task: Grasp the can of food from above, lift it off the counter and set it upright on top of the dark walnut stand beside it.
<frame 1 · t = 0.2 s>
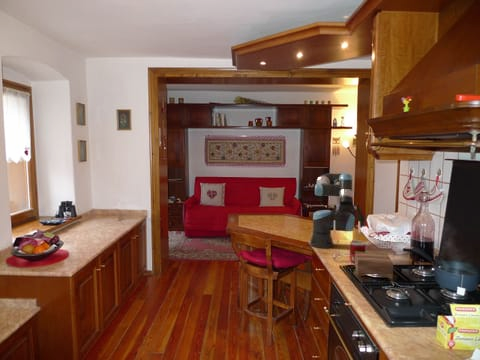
hand: (346, 232, 181), 16 cm above the countertop, tool tilted 30°, fingers open, 13 cm apart
walnut stand: (372, 272, 164), on the countertop
canned food: (357, 262, 180), on the countertop
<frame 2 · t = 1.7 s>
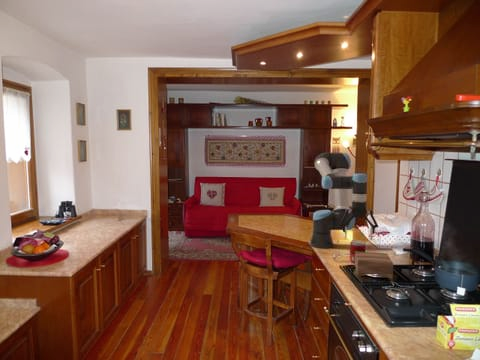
hand: (358, 238, 178), 13 cm above the countertop, tool pointing down, fingers open, 13 cm apart
nothing on the countertop moved.
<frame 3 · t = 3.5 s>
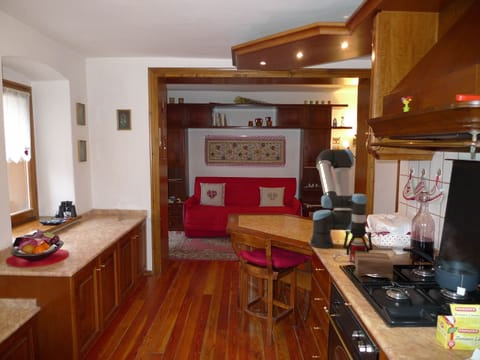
hand: (357, 261, 180), 0 cm above the countertop, tool pointing down, fingers closed on canned food, 8 cm apart
canned food: (357, 262, 180), on the countertop, touching gripper
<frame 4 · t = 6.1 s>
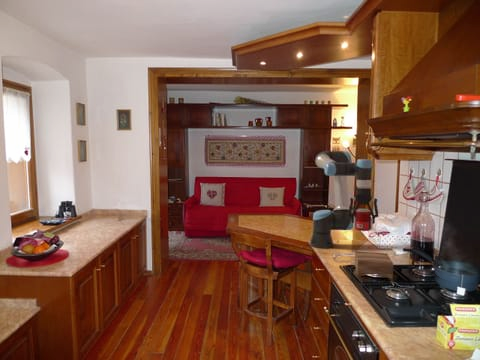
hand: (362, 229, 173), 20 cm above the countertop, tool pointing down, fingers closed on canned food, 8 cm apart
canned food: (362, 230, 173), point 19 cm above the countertop, touching gripper
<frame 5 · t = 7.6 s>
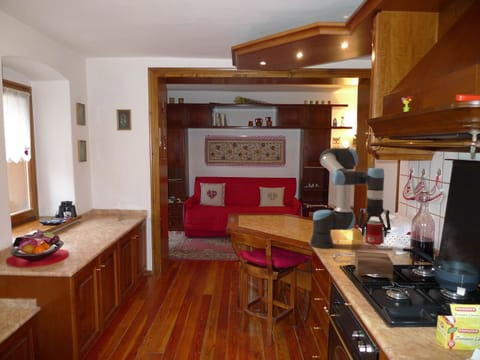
hand: (373, 242, 163), 16 cm above the countertop, tool pointing down, fingers closed on canned food, 8 cm apart
canned food: (373, 243, 163), point 15 cm above the countertop, touching gripper
when the fingers open (10 cm above the countertop, at t = 9.0 s): canned food drops 1 cm, resting on walnut stand.
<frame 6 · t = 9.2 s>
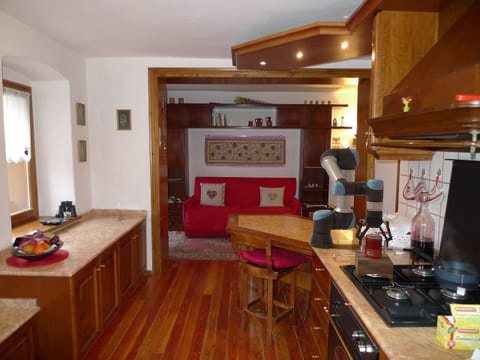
hand: (373, 252, 163), 10 cm above the countertop, tool pointing down, fingers open, 10 cm apart
canned food: (373, 257, 163), point 8 cm above the countertop, touching walnut stand
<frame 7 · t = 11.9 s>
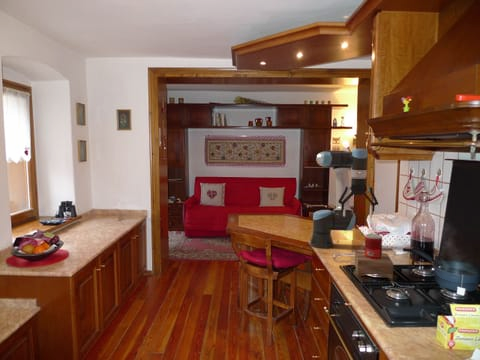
hand: (357, 216, 172), 27 cm above the countertop, tool pointing down, fingers open, 13 cm apart
nothing on the countertop moved.
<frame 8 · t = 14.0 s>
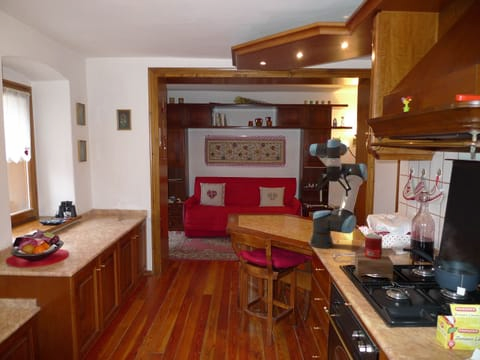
hand: (332, 201, 188), 33 cm above the countertop, tool pointing down, fingers open, 13 cm apart
nothing on the countertop moved.
at the end: canned food inside the target area on the walnut stand (0.0 cm from its centre), point 7.8 cm above the walnut stand's base; canned food tilted 0°; the gripper is holding nothing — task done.
